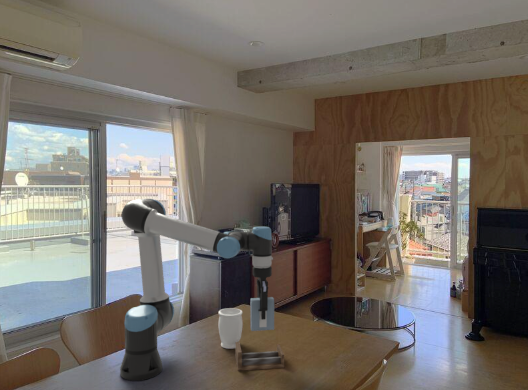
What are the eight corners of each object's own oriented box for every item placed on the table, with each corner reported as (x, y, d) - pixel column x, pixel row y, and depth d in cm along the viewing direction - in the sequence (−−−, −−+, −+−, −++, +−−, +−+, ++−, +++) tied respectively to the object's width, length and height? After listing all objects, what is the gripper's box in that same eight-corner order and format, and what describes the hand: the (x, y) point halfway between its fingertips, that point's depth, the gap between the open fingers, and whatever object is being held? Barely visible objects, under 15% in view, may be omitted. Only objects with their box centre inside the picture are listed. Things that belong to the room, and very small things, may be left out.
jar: (213, 347, 171) (213, 312, 170) (226, 338, 180) (226, 306, 180) (234, 352, 166) (234, 316, 165) (246, 343, 175) (246, 310, 175)
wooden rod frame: (237, 370, 149) (237, 352, 149) (235, 359, 159) (235, 341, 159) (284, 367, 152) (284, 349, 152) (279, 356, 162) (279, 339, 162)
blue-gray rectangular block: (251, 331, 153) (251, 300, 153) (250, 328, 156) (250, 298, 156) (274, 329, 155) (274, 299, 154) (272, 326, 158) (272, 297, 157)
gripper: (275, 270, 147) (275, 332, 148) (268, 261, 163) (268, 317, 164) (255, 270, 146) (255, 333, 147) (250, 262, 162) (250, 318, 163)
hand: (262, 325), depth 155 cm, fingers closed on blue-gray rectangular block, 3 cm apart
